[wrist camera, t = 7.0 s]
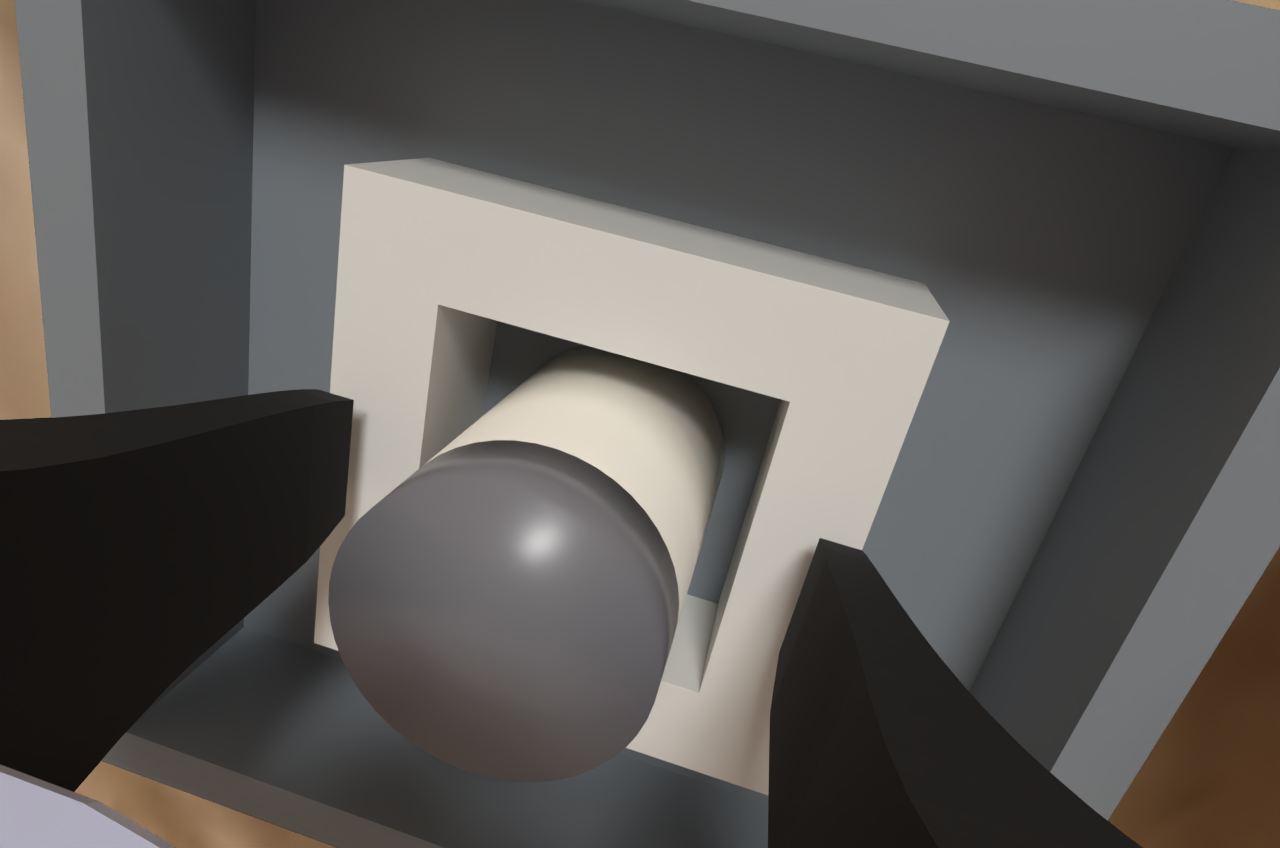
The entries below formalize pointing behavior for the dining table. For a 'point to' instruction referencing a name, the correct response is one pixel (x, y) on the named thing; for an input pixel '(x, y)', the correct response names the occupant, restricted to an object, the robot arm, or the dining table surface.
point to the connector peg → (535, 570)
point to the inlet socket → (651, 332)
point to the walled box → (747, 207)
